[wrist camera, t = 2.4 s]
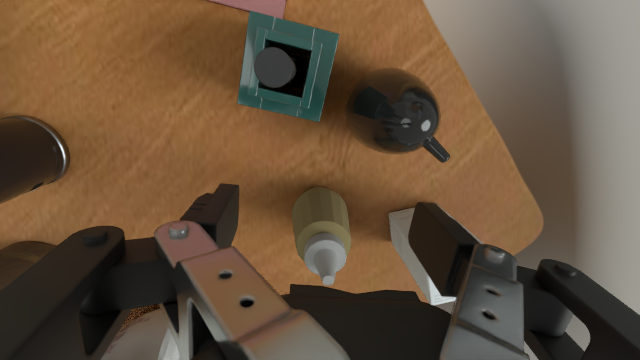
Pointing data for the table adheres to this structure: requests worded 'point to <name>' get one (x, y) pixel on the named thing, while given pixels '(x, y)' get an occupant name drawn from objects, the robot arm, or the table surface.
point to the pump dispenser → (395, 113)
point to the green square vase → (294, 41)
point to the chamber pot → (144, 340)
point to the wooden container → (20, 259)
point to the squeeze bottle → (322, 231)
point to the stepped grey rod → (274, 67)
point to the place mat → (257, 6)
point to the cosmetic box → (399, 238)
